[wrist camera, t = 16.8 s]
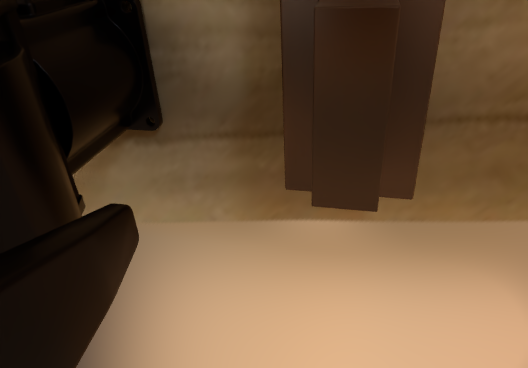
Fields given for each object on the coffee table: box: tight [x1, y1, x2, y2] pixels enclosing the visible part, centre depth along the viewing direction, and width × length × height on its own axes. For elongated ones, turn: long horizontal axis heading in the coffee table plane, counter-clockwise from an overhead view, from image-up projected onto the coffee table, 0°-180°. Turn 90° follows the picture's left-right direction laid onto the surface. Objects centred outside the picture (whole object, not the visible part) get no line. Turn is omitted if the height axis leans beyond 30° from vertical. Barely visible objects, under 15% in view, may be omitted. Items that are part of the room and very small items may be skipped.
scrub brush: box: [280, 0, 446, 212], centre depth 16 cm, size 10×6×6 cm, turn 3°
